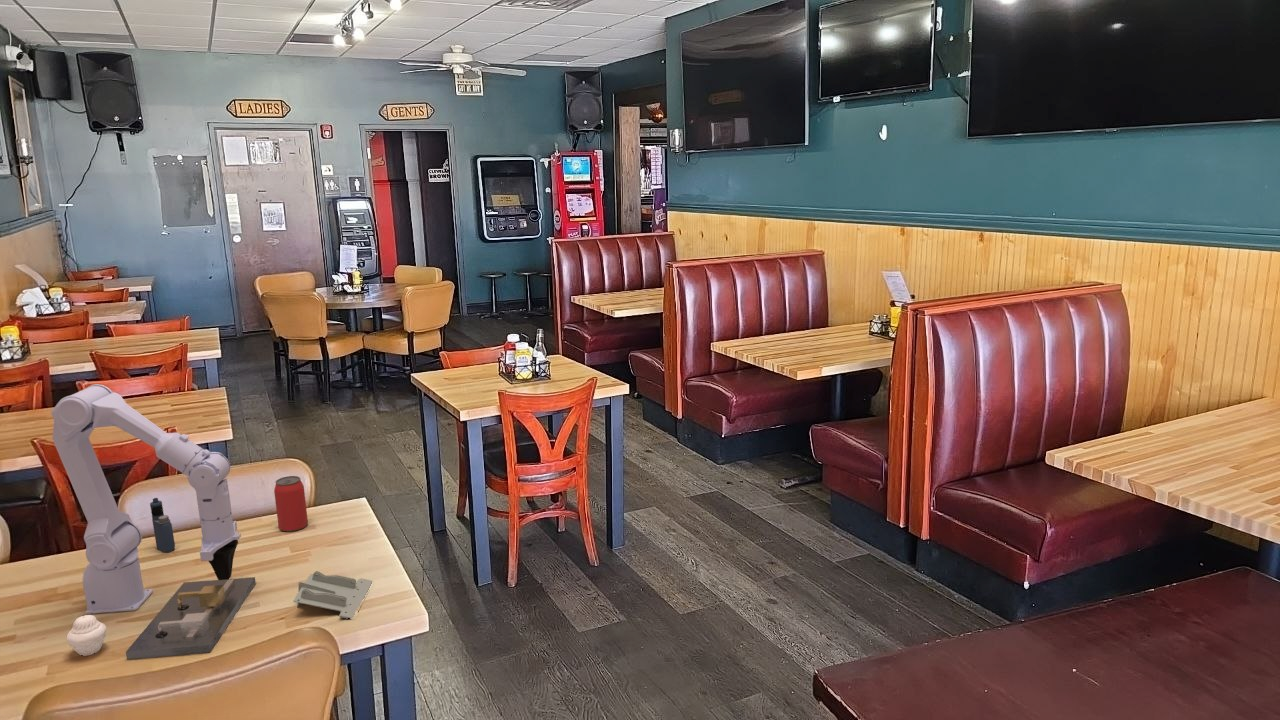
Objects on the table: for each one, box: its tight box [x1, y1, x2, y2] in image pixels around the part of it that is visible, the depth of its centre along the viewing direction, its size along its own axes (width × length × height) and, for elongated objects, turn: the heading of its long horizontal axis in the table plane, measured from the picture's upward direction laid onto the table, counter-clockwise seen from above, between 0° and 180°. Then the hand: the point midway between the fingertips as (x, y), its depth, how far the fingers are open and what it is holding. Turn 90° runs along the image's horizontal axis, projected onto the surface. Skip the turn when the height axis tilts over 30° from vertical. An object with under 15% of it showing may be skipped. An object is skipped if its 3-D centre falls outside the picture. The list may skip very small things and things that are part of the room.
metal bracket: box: [292, 570, 374, 620], centre depth 169 cm, size 14×6×15 cm
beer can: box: [273, 475, 309, 532], centre depth 204 cm, size 7×7×12 cm
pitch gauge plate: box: [125, 576, 257, 660], centre depth 164 cm, size 14×26×4 cm, turn 7°
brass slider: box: [178, 585, 225, 609], centre depth 164 cm, size 8×3×3 cm, turn 97°
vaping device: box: [149, 497, 176, 553], centre depth 193 cm, size 3×5×12 cm, turn 54°
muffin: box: [66, 614, 108, 657], centre depth 153 cm, size 6×6×7 cm
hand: (224, 578), depth 171 cm, fingers closed
